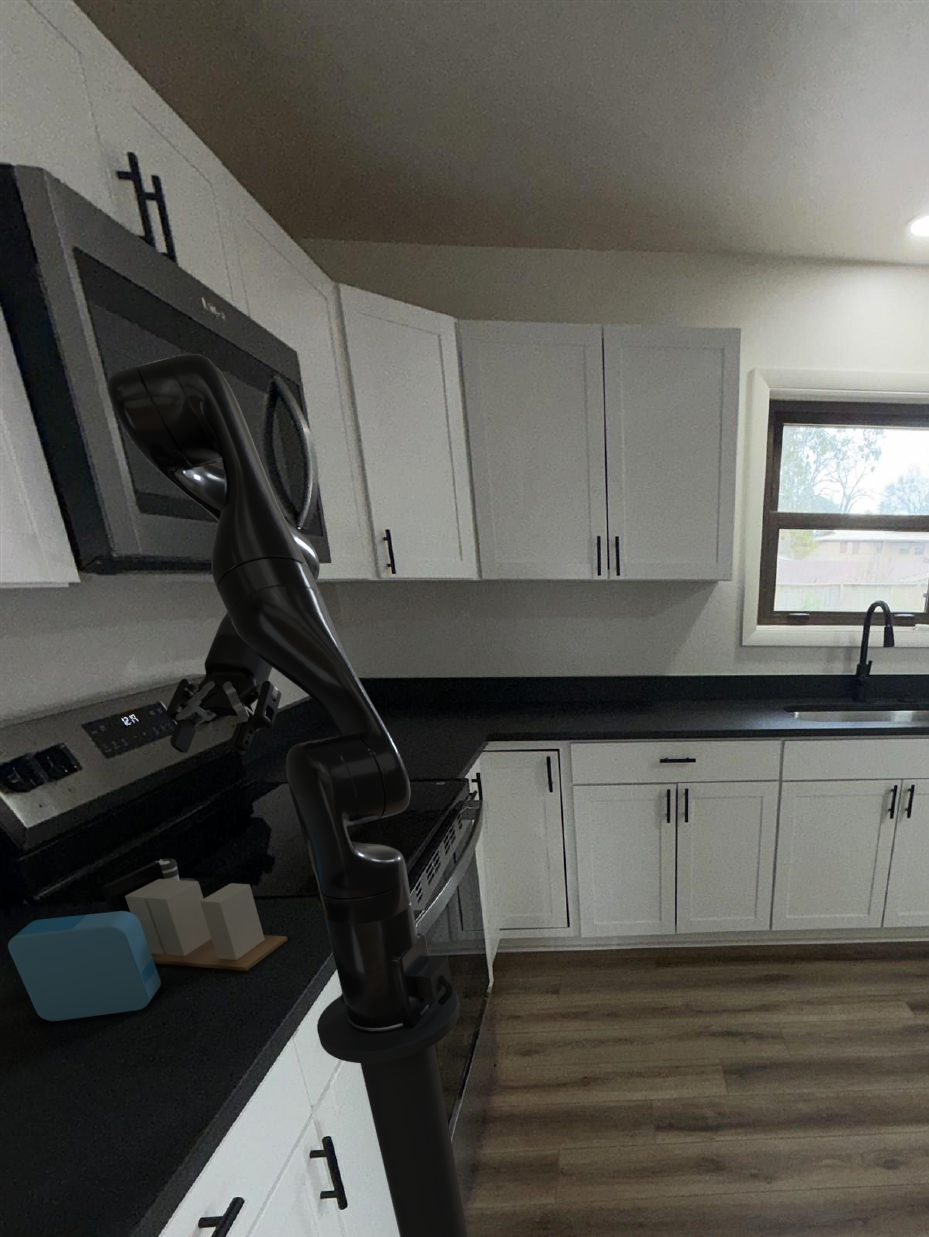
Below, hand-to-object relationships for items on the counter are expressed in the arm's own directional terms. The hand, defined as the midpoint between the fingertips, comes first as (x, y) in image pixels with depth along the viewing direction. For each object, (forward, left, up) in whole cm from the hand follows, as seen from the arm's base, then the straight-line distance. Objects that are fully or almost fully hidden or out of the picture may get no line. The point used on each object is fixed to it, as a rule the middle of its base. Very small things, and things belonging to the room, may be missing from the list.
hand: (207, 750), depth 94 cm
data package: (+8, +19, -29) cm, 35 cm away
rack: (+5, +4, -29) cm, 29 cm away
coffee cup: (+28, -15, -29) cm, 43 cm away
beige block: (0, +4, -28) cm, 28 cm away
